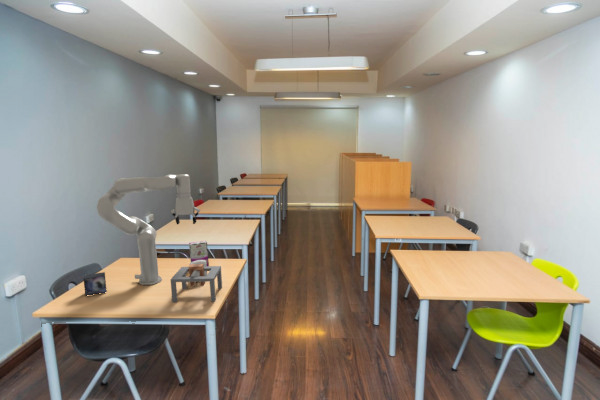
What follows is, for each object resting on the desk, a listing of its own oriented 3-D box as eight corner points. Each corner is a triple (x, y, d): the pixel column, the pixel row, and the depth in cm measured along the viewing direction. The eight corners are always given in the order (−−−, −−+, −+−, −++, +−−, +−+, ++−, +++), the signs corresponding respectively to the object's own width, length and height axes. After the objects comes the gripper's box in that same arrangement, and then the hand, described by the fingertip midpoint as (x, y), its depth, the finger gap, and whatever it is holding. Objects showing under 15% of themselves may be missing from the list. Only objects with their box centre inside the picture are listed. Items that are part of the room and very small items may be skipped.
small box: (85, 297, 207) (82, 278, 205) (85, 293, 213) (83, 275, 211) (106, 293, 212) (104, 275, 210) (106, 289, 217) (104, 271, 216)
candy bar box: (207, 264, 257) (206, 240, 254) (209, 266, 252) (207, 242, 250) (190, 266, 253) (188, 242, 250) (191, 268, 248) (189, 244, 245)
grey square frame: (172, 302, 198) (170, 275, 195) (183, 288, 217) (181, 263, 214) (214, 301, 198) (213, 274, 195) (222, 287, 217) (220, 262, 214)
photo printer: (206, 277, 232) (204, 257, 230) (208, 279, 229) (207, 259, 227) (189, 281, 227) (187, 261, 225) (191, 283, 223) (190, 263, 221)
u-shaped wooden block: (190, 286, 204) (188, 266, 202) (192, 283, 208) (190, 264, 206) (203, 286, 204) (201, 266, 202) (205, 283, 208) (203, 263, 206)
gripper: (167, 196, 222) (169, 225, 225) (197, 196, 222) (199, 224, 225) (171, 194, 229) (173, 222, 232) (200, 194, 229) (202, 222, 232)
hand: (186, 223), depth 228 cm, fingers open, 9 cm apart
